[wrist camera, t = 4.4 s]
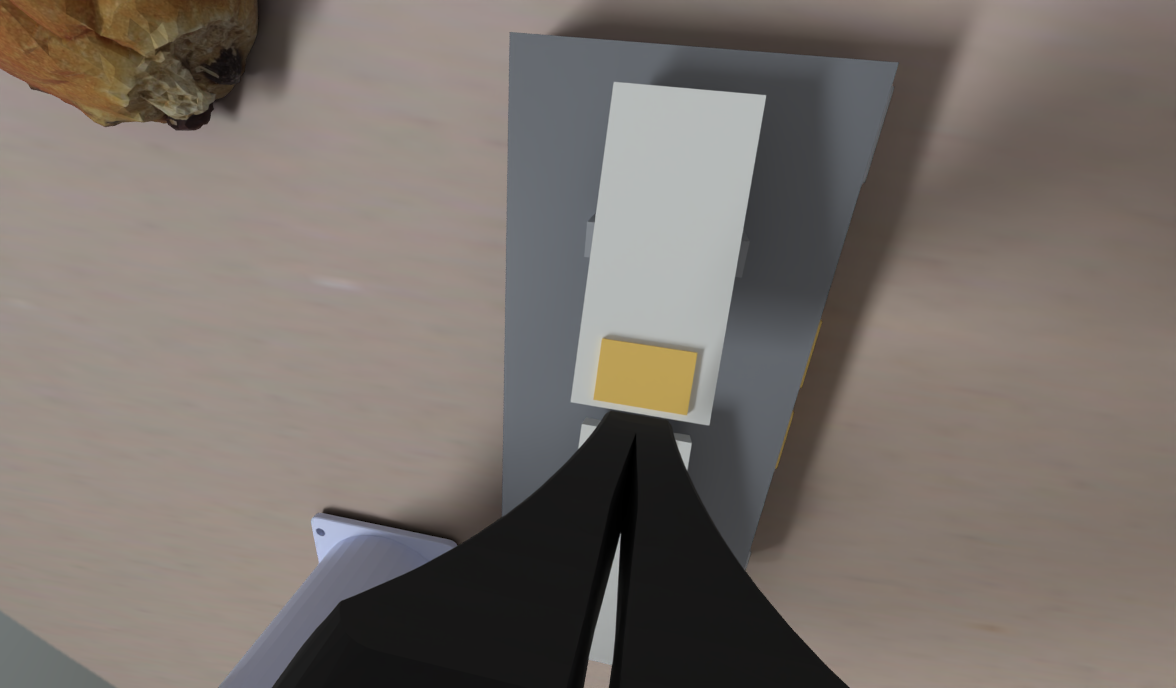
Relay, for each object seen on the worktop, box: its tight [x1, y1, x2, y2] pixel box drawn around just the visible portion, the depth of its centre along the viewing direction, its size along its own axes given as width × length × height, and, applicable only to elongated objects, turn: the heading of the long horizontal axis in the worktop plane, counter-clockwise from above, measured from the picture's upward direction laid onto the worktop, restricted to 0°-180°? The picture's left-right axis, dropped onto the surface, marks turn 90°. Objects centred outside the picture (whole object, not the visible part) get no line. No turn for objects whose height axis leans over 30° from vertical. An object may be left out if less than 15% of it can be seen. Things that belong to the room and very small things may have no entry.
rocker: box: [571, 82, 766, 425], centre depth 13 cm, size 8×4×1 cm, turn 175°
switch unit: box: [502, 32, 899, 571], centre depth 18 cm, size 20×10×4 cm, turn 175°
